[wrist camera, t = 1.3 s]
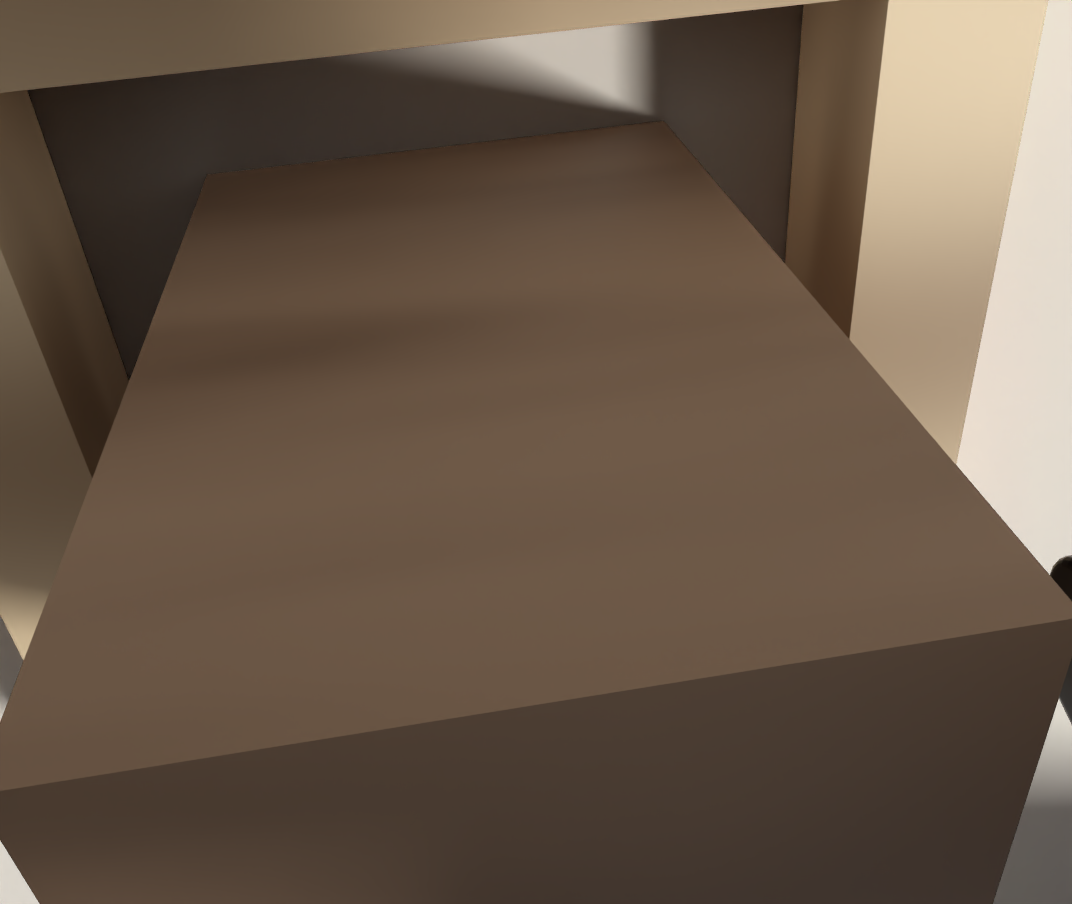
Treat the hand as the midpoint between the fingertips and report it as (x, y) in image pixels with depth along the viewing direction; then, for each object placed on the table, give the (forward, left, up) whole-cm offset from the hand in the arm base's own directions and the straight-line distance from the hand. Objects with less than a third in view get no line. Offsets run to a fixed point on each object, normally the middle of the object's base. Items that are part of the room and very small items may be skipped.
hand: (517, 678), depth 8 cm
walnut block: (0, 0, -5) cm, 5 cm away
